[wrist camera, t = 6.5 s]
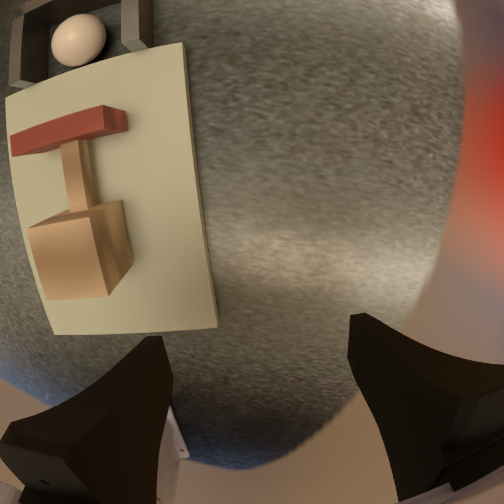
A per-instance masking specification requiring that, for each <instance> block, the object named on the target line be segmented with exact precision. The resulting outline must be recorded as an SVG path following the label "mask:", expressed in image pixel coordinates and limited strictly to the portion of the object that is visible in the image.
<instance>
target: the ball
mask: <svg viewBox="0 0 504 504" xmlns="http://www.w3.org/2000/svg"><path fill="white" fill-rule="evenodd" d="M105 41H106V30H105V27H104V25H103V23H102V22H101V21H100V20H99V19H98V18H97V17H95V16H93V15H89V14H78V15H74V16H72V17H70V18H68V19H66V20H65V21H64V22H62V23H61V24H60V25H59V27H58V28H57V29H56V31H55V33H54V35H53V38H52V43H51V48H52V52H53V55H54V57H55V58H56V59H57V61H59V62H60V63H62V64H63V65H66V66H72V67H76V66H81V65H84V64H87V63H89V62H90V61H92V60H93V59H94V58H96V57H97V56H98V54H99V53H100V52H101V50H102V49H103V47H104V44H105Z"/></svg>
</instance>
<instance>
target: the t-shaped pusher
mask: <svg viewBox="0 0 504 504" xmlns="http://www.w3.org/2000/svg"><path fill="white" fill-rule="evenodd" d="M125 131H127V122H126V111H124V110H120V109H117V108H113V107H109V106H106V105H99V106H96V107H92V108H89V109H85V110H82V111H78V112H75V113H72V114H69V115H65V116H62V117H59V118H56V119H53V120H50V121H47V122H45V123H42V124H39V125H36V126H34V127H31V128H28V129H26V130H23V131H20V132H18V133H15V134H13V135H11V136H10V144H11V154H12V157H16V156H23V155H31V154H39V153H45V152H48V151H52V150H55V149H58V148H60V149H61V157H62V165H63V172H64V179H65V185H66V191H67V197H68V203H69V208H70V210H65V211H63V212H60V213H58V214H56V215H54V216H52V217H50V218H48V219H45V220H43V221H41V222H39V223H37V224H35V225H33V226H31V227H29V228H27V234H28V238H29V242H30V246H31V250H32V254H33V258H34V261H35V265H36V268H37V272H38V275H39V278H40V282H41V285H42V288H43V291H44V294H45V297H46V300H47V301H50V300H66V299H82V298H96V297H109V295H110V294H111V293H112V291H113V290H114V289H115V287H116V286H117V285H118V283H119V282H120V281H121V280H122V278H123V277H124V276H125V274H126V273H127V272H128V271H129V269H130V268H131V267H132V266H133V262H132V257H131V253H130V248H129V243H128V238H127V233H126V228H125V222H124V217H123V211H122V206H121V200H119V201H113V202H107V203H102V204H96V200H95V194H94V188H93V181H92V175H91V168H90V160H89V152H88V144H87V140H91V139H95V138H99V137H103V136H108V135H112V134H116V133H121V132H125Z"/></svg>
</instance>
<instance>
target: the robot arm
mask: <svg viewBox="0 0 504 504" xmlns="http://www.w3.org/2000/svg"><path fill="white" fill-rule="evenodd" d="M347 358H348V361H349V364H350V367H351V370H352V373H353V376H354V378H355V380H356V382H357V384H358V386H359V388H360V390H361V392H362V394H363V396H364V398H365V400H366V402H367V404H368V406H369V408H370V410H371V412H372V414H373V416H374V418H375V421H376V423H377V425H378V428H379V430H380V433H381V436H382V439H383V442H384V445H385V449H386V452H387V455H388V459H389V462H390V466H391V470H392V474H393V478H394V482H395V486H396V491H397V496H398V501H399V502H398V503H395V504H504V365H499V364H489V363H483V362H476V361H472V360H466V359H463V358H459V357H456V356H452V355H449V354H446V353H443V352H440V351H438V350H435V349H432V348H430V347H428V346H425V345H423V344H421V343H419V342H417V341H415V340H413V339H411V338H409V337H407V336H405V335H403V334H401V333H400V332H398V331H396V330H394V329H393V328H391V327H389V326H388V325H386V324H384V323H382V322H381V321H379V320H377V319H376V318H374V317H372V316H370V315H369V314H367V313H360V314H354V315H350V327H349V342H348V355H347ZM172 387H173V373H172V370H171V367H170V363H169V360H168V357H167V353H166V350H165V346H164V343H163V339H162V336H147V337H145V338H144V339H143V340H142V341H141V342H140V343H139V344H138V345H137V346H136V347H135V348H134V349H132V350H131V351H130V352H129V353H128V354H127V355H126V356H125V357H124V358H123V359H122V360H121V361H120V362H119V363H118V364H117V365H115V366H114V367H113V368H112V369H111V370H110V371H108V372H107V373H106V374H105V375H104V376H103V377H101V378H100V379H99V380H98V381H96V382H95V383H94V384H92V385H91V386H89V387H88V388H86V389H85V390H84V391H82V392H81V393H79V394H77V395H76V396H74V397H72V398H70V399H68V400H67V401H65V402H63V403H61V404H59V405H57V406H55V407H53V408H51V409H49V410H46V411H44V412H41V413H39V414H36V415H33V416H30V417H27V418H24V419H20V420H17V421H13V422H11V423H10V425H9V426H8V428H7V430H6V431H5V434H4V435H3V437H2V438H1V440H0V458H1V459H2V461H3V462H4V463H5V465H6V466H7V467H8V468H9V469H10V470H11V471H12V472H13V473H14V475H15V476H16V477H17V478H18V479H19V480H20V481H21V482H22V483H23V484H24V485H25V488H24V490H23V492H22V491H20V490H19V489H17V488H15V487H13V486H11V485H8V484H6V483H4V482H1V481H0V504H174V501H175V494H176V486H177V478H178V469H179V462H180V458H188V457H189V455H190V454H189V451H188V449H187V446H186V444H185V441H184V439H183V436H182V434H181V431H180V429H179V426H178V424H177V421H176V419H175V416H174V413H173V411H172V408H171V405H170V402H171V397H172Z"/></svg>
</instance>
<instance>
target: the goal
mask: <svg viewBox="0 0 504 504" xmlns="http://www.w3.org/2000/svg"><path fill="white" fill-rule="evenodd" d="M120 1H121V42H122V44H123V45H124V46H125V47H127V48H128V49H129V50H130V51H131V52H136V51H141V50H145V49H150V48H154V38H153V11H152V0H29V1H27V2H25V3H24V4H22V5H20V6H18V7H16V8H15V9H14V16H13V24H12V33H11V44H10V60H9V86H14V87H20V88H25V89H26V88H28V87H30V86H33V85H35V84H38V83H40V82H42V81H45V80H47V79H48V39H49V27H50V26H52V25H55V24H57V23H60V22H62V21H64V20H66V19H68V18H70V17H72V16H74V15H78V14H83V13H85V12H88V11H91V10H94V9H97V8H100V7H103V6H106V5H110V4H113V3H116V2H120Z"/></svg>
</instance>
